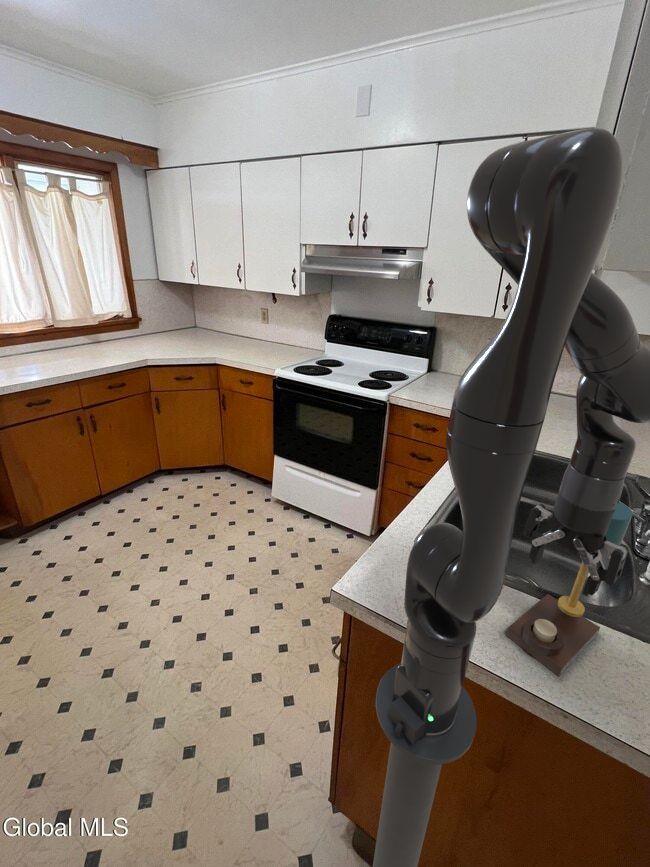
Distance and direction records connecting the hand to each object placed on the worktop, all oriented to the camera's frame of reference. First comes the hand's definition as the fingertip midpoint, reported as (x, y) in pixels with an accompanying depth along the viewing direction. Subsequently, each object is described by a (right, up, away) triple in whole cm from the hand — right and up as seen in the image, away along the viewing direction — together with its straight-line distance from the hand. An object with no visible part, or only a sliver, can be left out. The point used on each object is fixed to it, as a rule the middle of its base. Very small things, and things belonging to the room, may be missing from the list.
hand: (560, 576), depth 70 cm
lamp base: (+3, -14, +9) cm, 17 cm away
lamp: (+8, -9, +10) cm, 16 cm away
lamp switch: (0, -12, +5) cm, 13 cm away
